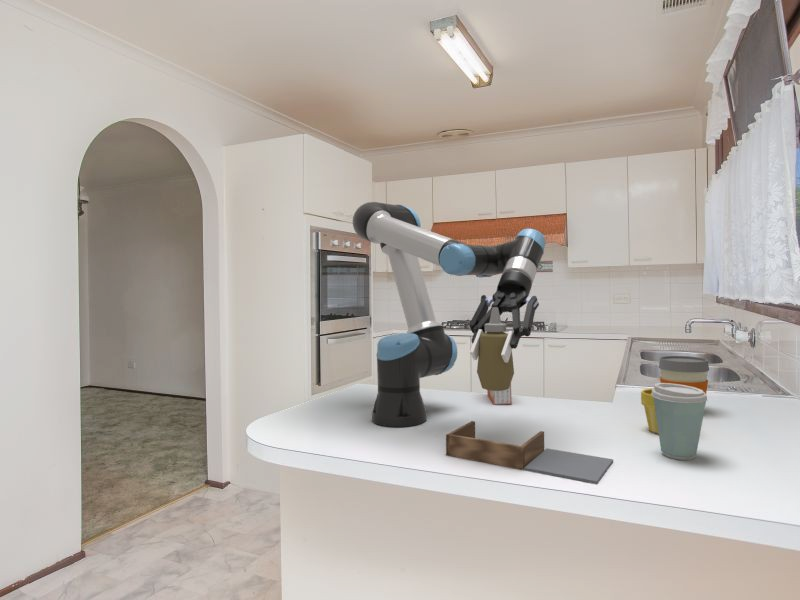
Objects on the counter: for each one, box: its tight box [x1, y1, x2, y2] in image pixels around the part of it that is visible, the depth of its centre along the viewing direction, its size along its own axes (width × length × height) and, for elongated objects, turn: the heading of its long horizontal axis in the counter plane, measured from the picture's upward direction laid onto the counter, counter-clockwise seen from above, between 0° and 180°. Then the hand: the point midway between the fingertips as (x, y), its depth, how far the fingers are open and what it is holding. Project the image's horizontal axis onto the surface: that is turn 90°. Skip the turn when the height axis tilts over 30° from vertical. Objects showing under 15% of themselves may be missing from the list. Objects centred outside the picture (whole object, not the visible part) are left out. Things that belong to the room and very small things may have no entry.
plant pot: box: [640, 388, 659, 435], centre depth 129 cm, size 10×10×10 cm
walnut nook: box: [445, 420, 545, 471], centre depth 115 cm, size 18×13×4 cm
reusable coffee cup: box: [658, 355, 710, 395], centre depth 147 cm, size 13×13×15 cm
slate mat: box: [523, 448, 614, 485], centre depth 106 cm, size 14×14×1 cm
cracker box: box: [486, 383, 513, 405], centre depth 166 cm, size 14×6×21 cm, turn 178°
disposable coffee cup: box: [651, 382, 708, 461], centre depth 111 cm, size 11×11×15 cm
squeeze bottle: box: [476, 307, 515, 391], centre depth 114 cm, size 8×8×18 cm
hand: (488, 357), depth 111 cm, fingers closed on squeeze bottle, 6 cm apart
